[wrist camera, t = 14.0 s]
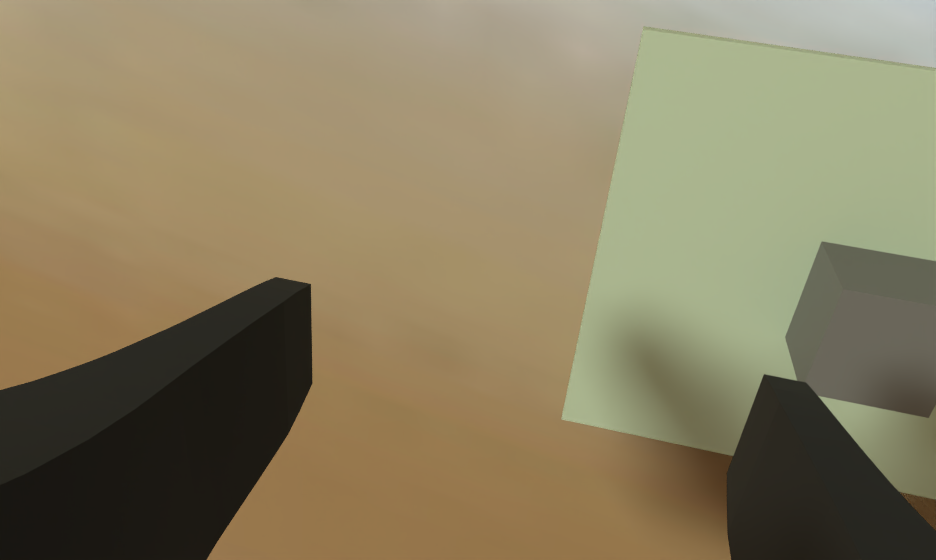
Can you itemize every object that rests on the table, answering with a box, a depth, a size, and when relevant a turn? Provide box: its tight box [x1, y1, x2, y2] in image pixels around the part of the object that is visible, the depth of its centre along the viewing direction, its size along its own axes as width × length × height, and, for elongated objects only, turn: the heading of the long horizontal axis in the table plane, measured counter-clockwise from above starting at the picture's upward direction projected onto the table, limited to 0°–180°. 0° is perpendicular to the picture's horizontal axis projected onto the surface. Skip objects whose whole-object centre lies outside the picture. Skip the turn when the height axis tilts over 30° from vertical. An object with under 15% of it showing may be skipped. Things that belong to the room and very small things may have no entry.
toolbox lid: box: [562, 27, 936, 500], centre depth 19 cm, size 12×12×4 cm
